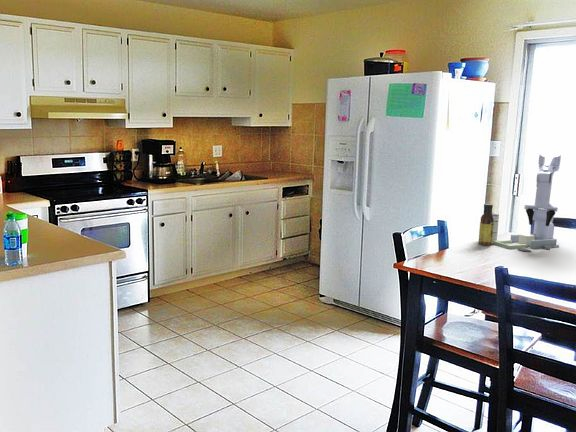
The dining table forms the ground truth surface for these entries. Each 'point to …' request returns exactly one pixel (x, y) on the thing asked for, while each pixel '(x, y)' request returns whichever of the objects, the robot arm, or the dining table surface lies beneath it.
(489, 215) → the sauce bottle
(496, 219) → the syrup box
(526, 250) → the hole marker
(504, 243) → the pale green flat block
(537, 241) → the pale blue square frame
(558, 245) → the crook tool
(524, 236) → the cube
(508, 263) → the dining table surface
